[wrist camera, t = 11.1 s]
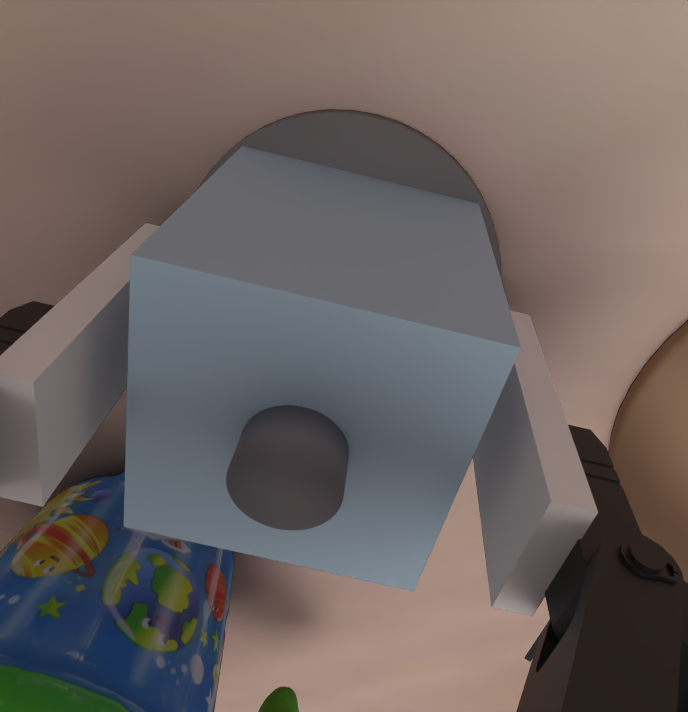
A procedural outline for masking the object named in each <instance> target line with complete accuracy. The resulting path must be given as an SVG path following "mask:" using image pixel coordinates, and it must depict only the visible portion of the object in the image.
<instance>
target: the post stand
mask: <svg viewBox="0 0 688 712" xmlns="http://www.w3.org/2000/svg"><path fill="white" fill-rule="evenodd" d="M609 455H610V458H611V460H612V463H613V465H614V468H613V470H616V472H617V475H618V477H619V480H620V485H622V487H623V489H624V492H625V494H626V497H627V499H628V502H629V504H630V506H631V509H632V511H633V514H634V516H635V519H636V521H637V523H638V526H639V528H640V531H641V533H642V535H644V536H646V537H648V538H650V539H651V540H653V541H654V542H656V543H657V544H659V545H660V546H662V547H663V548H664V549H665V550H666V551H667V552H668V553H669V554H670V555H671V556H672V557H673V558H674V559H675V561H676V563H677V564H678V566H679V567H680V569H681V571H682V574H683V578H684V581H686V582H688V321H687V322H686V323H685V324H684V325H683V326H682V327H680V328H679V329H678V330H677V331H676V332H675V333H674V334H673V335H672V336H671V337H670V338H669V339H668V340H666V342H665V343H664V344H663V345H662V346H661V347H660V348H659V350H658V351H657V352H656V353H655V354H654V355H653V357H652V358H651V359H650V360H649V361H648V362H647V364H646V365H645V366H644V368H643V369H642V371H641V372H640V374H639V375H638V377H637V378H636V380H635V381H634V383H633V384H632V386H631V387H630V389H629V391H628V393H627V395H626V397H625V399H624V401H623V403H622V405H621V407H620V409H619V411H618V414H617V417H616V421H615V424H614V427H613V430H612V433H611V439H610V446H609Z"/></svg>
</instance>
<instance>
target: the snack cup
mask: <svg viewBox="0 0 688 712" xmlns="http://www.w3.org/2000/svg"><path fill="white" fill-rule="evenodd" d="M124 490H125V472H123V473H121V474H119V475H116V476H111V477H100V478H93V479H89V480H87V481H83V482H80V483H77V484H75V485H74V486H72V487H70V488H68V489H66V490H64V491H62V492H61V493H59V494H58V495H57V496H55V497H54V498H53V499H52V500H51V501H50V502H49V503H48V504H47V505H46V506H45V507H44V508H43V509H42V510H41V511H40V512H39V513H38V514H37V515H36V516H35V517H34V518H33V519H32V520H31V521H30V522H29V523H28V524H27V525H26V526H25V527H24V528H23V529H22V530H21V531H20V532H19V533H18V534H17V535H16V536H15V537H14V538H13V539H12V540H11V541H10V542H9V543H8V544H7V545H6V546H5V547H4V549H3V550H2V551H1V552H0V712H214V709H215V702H216V695H217V688H218V682H219V675H220V669H221V662H222V655H223V647H224V640H225V625H226V620H227V616H228V612H229V603H230V598H231V579H232V574H233V552H232V551H230V550H226V549H222V548H217V547H213V546H208V545H204V544H199V543H195V542H190V541H186V540H181V539H177V538H172V537H168V536H163V535H159V534H155V533H150V532H146V531H141V530H137V529H132V528H128V527H124ZM258 712H299V711H298V703H297V698H296V695H295V692H294V691H293V690H292V689H291V688H289V687H279V688H277V689H275V690H274V691H273V692H272V693H271V694H270V695H269V696H268V697H267V698H266V699H265V701H264V702H263V704H262V706H261V707H260V709H259V711H258Z"/></svg>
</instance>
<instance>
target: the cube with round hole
mask: <svg viewBox="0 0 688 712" xmlns="http://www.w3.org/2000/svg"><path fill="white" fill-rule="evenodd" d="M520 349H521V346H520V343H519V339H518V336H517V332H516V329H515V325H514V322H513V319H512V315H511V312H510V308H509V305H508V301H507V298H506V295H505V291H504V288H503V284H502V281H501V278H500V274H499V271H498V267H497V264H496V260H495V257H494V254H493V250H492V247H491V243H490V240H489V237H488V233H487V230H486V226H485V223H484V219H483V216H482V213H481V209H480V206H479V204H478V203H474V202H470V201H466V200H462V199H457V198H453V197H449V196H445V195H441V194H437V193H433V192H429V191H425V190H421V189H417V188H413V187H409V186H404V185H400V184H396V183H392V182H388V181H384V180H380V179H376V178H372V177H368V176H364V175H360V174H356V173H351V172H347V171H343V170H339V169H335V168H331V167H327V166H323V165H319V164H315V163H311V162H307V161H302V160H298V159H294V158H290V157H286V156H282V155H278V154H274V153H270V152H266V151H262V150H258V149H254V148H249V147H245V146H242V147H241V148H240V149H239V150H238V151H236V152H235V153H234V154H233V155H232V156H231V157H230V158H229V159H228V160H227V161H226V162H225V163H224V164H223V165H222V166H221V167H220V168H219V169H218V170H217V171H216V172H215V173H214V174H213V175H212V176H211V177H210V178H209V179H208V180H207V181H206V182H205V183H204V184H203V185H202V186H201V187H200V188H199V189H198V190H197V191H195V192H194V193H193V194H192V195H191V196H190V197H189V198H188V199H187V200H186V201H185V202H184V203H183V204H182V205H181V206H180V207H179V208H178V209H177V210H176V211H175V212H174V213H173V214H172V215H171V216H170V217H169V218H168V219H167V220H166V221H165V222H164V223H163V224H162V225H161V226H160V227H159V228H158V229H157V230H155V231H154V232H153V233H152V234H151V235H150V236H149V237H148V238H147V239H146V240H145V241H144V242H143V243H142V244H141V245H140V246H139V247H138V248H137V249H136V250H135V251H134V252H133V253H132V254H131V261H130V299H129V337H128V375H127V414H126V452H125V490H124V527H128V528H132V529H137V530H141V531H146V532H150V533H155V534H159V535H163V536H168V537H172V538H177V539H181V540H186V541H190V542H195V543H199V544H204V545H208V546H213V547H217V548H222V549H226V550H230V551H235V552H239V553H244V554H248V555H253V556H257V557H262V558H266V559H271V560H275V561H280V562H284V563H289V564H293V565H297V566H302V567H306V568H311V569H315V570H320V571H324V572H329V573H333V574H338V575H342V576H347V577H351V578H356V579H360V580H364V581H369V582H373V583H378V584H382V585H387V586H391V587H396V588H400V589H405V590H409V591H414V589H415V587H416V585H417V582H418V580H419V578H420V576H421V573H422V571H423V569H424V567H425V564H426V562H427V560H428V557H429V555H430V553H431V551H432V548H433V546H434V544H435V542H436V539H437V537H438V535H439V533H440V530H441V528H442V526H443V523H444V521H445V519H446V517H447V514H448V512H449V510H450V508H451V505H452V503H453V501H454V498H455V496H456V494H457V492H458V489H459V487H460V485H461V483H462V480H463V478H464V476H465V474H466V471H467V469H468V467H469V464H470V462H471V460H472V458H473V455H474V453H475V451H476V449H477V446H478V444H479V442H480V440H481V437H482V435H483V433H484V430H485V428H486V426H487V424H488V421H489V419H490V417H491V415H492V412H493V410H494V408H495V406H496V403H497V401H498V399H499V396H500V394H501V392H502V390H503V387H504V385H505V383H506V381H507V378H508V376H509V374H510V372H511V369H512V367H513V365H514V362H515V360H516V358H517V356H518V353H519V351H520Z"/></svg>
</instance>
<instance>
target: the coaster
mask: <svg viewBox="0 0 688 712" xmlns="http://www.w3.org/2000/svg"><path fill="white" fill-rule="evenodd" d="M242 146H245V147H249V148H254V149H258V150H262V151H266V152H270V153H274V154H278V155H282V156H286V157H290V158H294V159H298V160H302V161H307V162H311V163H315V164H319V165H323V166H327V167H331V168H335V169H339V170H343V171H347V172H351V173H356V174H360V175H364V176H368V177H372V178H376V179H380V180H384V181H388V182H392V183H396V184H400V185H404V186H409V187H413V188H417V189H421V190H425V191H429V192H433V193H437V194H441V195H445V196H449V197H453V198H457V199H462V200H466V201H470V202H474V203H478V204H479V206H480V209H481V213H482V216H483V219H484V223H485V226H486V230H487V233H488V237H489V240H490V243H491V247H492V250H493V254H494V257H495V260H496V264H497V267H498V271H499V274H500V277H501V260H500V252H499V244H498V239H497V236H496V232H495V229H494V225H493V222H492V219H491V215H490V213H489V211H488V208H487V206H486V204H485V202H484V199H483V197H482V195H481V193H480V192H479V190H478V188H477V187H476V185H475V184H474V182H473V180H472V179H471V177H470V176H469V175H468V174H467V172H466V171H465V170H464V169H463V168H462V166H461V165H460V164H459V163H458V162H457V161H456V159H454V158H453V157H452V156H451V155H450V154H449V153H448V152H447V151H445V150H444V149H443V148H442V147H441V146H440V145H439V144H437V143H436V142H434V141H433V140H431V139H430V138H428V137H427V136H425V135H424V134H422V133H421V132H419V131H417V130H415V129H413V128H411V127H409V126H407V125H405V124H403V123H401V122H398V121H395V120H392V119H389V118H386V117H383V116H380V115H377V114H371V113H365V112H360V111H354V110H321V111H312V112H305V113H301V114H297V115H293V116H289V117H285V118H283V119H280V120H278V121H276V122H273V123H271V124H268V125H266V126H264V127H262V128H260V129H259V130H257V131H255V132H254V133H252V134H250V135H249V136H247V137H246V138H244V139H243V140H242V141H241V142H239V143H238V144H237V145H236V146H234V147H233V148H232V149H231V150H230V151H228V152H227V153H226V154H225V155H224V156H223V157H222V158H221V159H220V161H219V162H218V163H217V164H216V165H215V166H214V167H213V168H212V169H211V170H210V172H209V173H208V175H207V176H206V178H205V179H204V181H203V182H202V184H201V185H200V187H201V186H202V185H203V184H204V183H205V182H206V181H207V180H208V179H209V178H210V177H211V176H212V175H213V174H214V173H215V172H216V171H217V170H218V169H219V168H220V167H221V166H222V165H223V164H224V163H225V162H226V161H227V160H228V159H229V158H230V157H231V156H232V155H233V154H234V153H235V152H236V151H238V150H239V149H240V148H241V147H242ZM200 187H199V188H200ZM199 188H198V189H199Z"/></svg>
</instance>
